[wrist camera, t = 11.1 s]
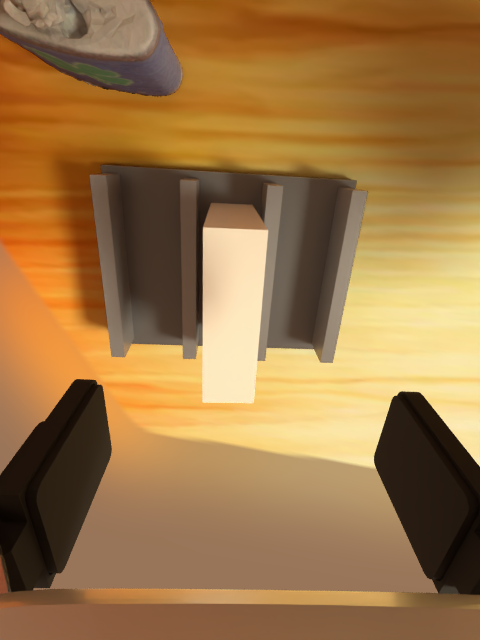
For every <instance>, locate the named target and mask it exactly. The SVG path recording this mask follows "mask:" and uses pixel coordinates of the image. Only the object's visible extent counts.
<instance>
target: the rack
mask: <svg viewBox="0 0 480 640" xmlns="http://www.w3.org/2000/svg"><path fill="white" fill-rule="evenodd" d="M89 177H90V185H91V193H92V201H93V209H94V217H95V225H96V234H97V242H98V250H99V258H100V266H101V274H102V282H103V291H104V299H105V307H106V315H107V323H108V331H109V339H110V348H111V356H112V357H125V356H126V354H127V352H128V350H129V348H130V346H131V344H160V345H183V359H196V354H197V347H198V346H203V226H204V223H205V220H206V217H207V214H208V211H209V208H210V205H211V203H227V204H248V205H253V207H254V208H255V210H256V211H257V213H258V215H259V216H260V218H261V219H262V221H263V223H264V224H265V226H266V227H267V229H268V240H267V252H266V264H265V275H264V287H263V299H262V311H261V323H260V335H259V346H258V358H257V361H265V357H266V348H293V349H314V350H315V352H316V354H317V356H318V358H319V360H320V362H321V363H333V358H334V354H335V349H336V344H337V339H338V334H339V329H340V325H341V320H342V315H343V310H344V305H345V300H346V296H347V291H348V286H349V281H350V276H351V271H352V266H353V262H354V257H355V252H356V247H357V242H358V237H359V233H360V228H361V223H362V218H363V213H364V208H365V203H366V199H367V194H368V191H364V190H359V189H355V188H356V182H357V181H355V180H344V179H327V178H311V177H295V176H279V175H263V174H247V173H230V172H214V171H198V170H182V169H166V168H150V167H133V166H117V165H101V174H91V175H89Z"/></svg>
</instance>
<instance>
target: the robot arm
mask: <svg viewBox="0 0 480 640" xmlns="http://www.w3.org/2000/svg"><path fill="white" fill-rule="evenodd" d="M111 450H112V448H111V440H110V433H109V427H108V421H107V413H106V407H105V400H104V392H103V387H102V385H97V382H96V380H84V379H76V380H75V381H74V382H73V383H72V384H71V386H70V387H69V389H68V390H67V391H66V393H65V394H64V395H63V397H62V398H61V400H60V401H59V402H58V404H57V405H56V406H55V408H54V409H53V411H52V412H51V413H50V415H49V416H48V418H47V419H46V420H45V421H43V422H41V423H39V424H38V425H37V426H36V427H35V429H34V430H33V432H32V433H31V434H30V435H29V437H28V438H27V440H26V441H25V442H24V444H23V445H22V446H21V448H20V449H19V450H18V452H17V453H16V454H15V456H14V457H13V458H12V460H11V461H10V463H9V464H8V465H7V467H6V468H5V469H4V471H3V472H2V473H1V475H0V640H480V467H479V465H478V464H477V463H476V462H475V460H474V459H473V458H472V457H471V455H470V454H469V453H468V452H467V450H466V449H465V448H464V447H463V445H462V444H461V443H460V442H459V440H458V439H457V438H456V436H455V435H454V434H453V433H452V431H451V430H450V429H449V428H448V426H447V425H446V424H445V423H444V421H443V420H442V419H441V418H440V416H439V415H438V414H437V413H436V411H435V410H434V409H433V408H432V406H431V405H430V404H429V403H428V401H427V400H426V399H425V398H424V396H423V395H422V394H421V393H419V392H399V393H398V395H397V396H394V397H393V399H392V401H391V405H390V408H389V411H388V414H387V417H386V420H385V423H384V427H383V430H382V433H381V436H380V439H379V442H378V445H377V449H376V452H375V455H374V463H375V467H376V469H377V471H378V473H379V476H380V478H381V480H382V482H383V484H384V486H385V489H386V491H387V493H388V495H389V497H390V500H391V502H392V504H393V506H394V508H395V510H396V513H397V515H398V517H399V519H400V521H401V524H402V526H403V528H404V530H405V532H406V534H407V537H408V539H409V541H410V543H411V545H412V548H413V550H414V552H415V554H416V556H417V558H418V560H419V563H420V565H421V567H422V569H423V571H424V573H425V575H426V576H427V578H429V579H432V580H433V582H434V584H435V587H436V589H437V591H438V593H405V592H358V591H357V592H356V591H353V592H352V591H300V590H299V591H298V590H295V591H294V590H228V589H226V590H225V589H224V590H223V589H48V590H33V588H50V586H51V584H52V582H53V579H54V577H55V575H56V573H61V572H62V571H63V570H64V568H65V566H66V564H67V561H68V559H69V556H70V554H71V551H72V549H73V546H74V544H75V542H76V539H77V537H78V534H79V532H80V530H81V527H82V525H83V522H84V520H85V518H86V515H87V513H88V510H89V508H90V506H91V503H92V501H93V498H94V496H95V493H96V491H97V489H98V486H99V484H100V481H101V479H102V477H103V474H104V472H105V469H106V467H107V464H108V462H109V460H110V456H111Z"/></svg>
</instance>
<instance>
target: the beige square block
mask: <svg viewBox="0 0 480 640" xmlns="http://www.w3.org/2000/svg"><path fill="white" fill-rule="evenodd" d="M267 240H268V229H267V227H266V226H265V224H264V223H263V221H262V219H261V218H260V216H259V215H258V213H257V211H256V210H255V208H254V207H253V205H248V204H227V203H211V205H210V208H209V211H208V214H207V217H206V220H205V223H204V226H203V402H210V403H254V394H255V382H256V370H257V358H258V346H259V335H260V323H261V311H262V299H263V287H264V275H265V264H266V252H267Z"/></svg>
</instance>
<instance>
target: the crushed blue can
mask: <svg viewBox="0 0 480 640" xmlns="http://www.w3.org/2000/svg"><path fill="white" fill-rule="evenodd" d="M0 34H1V35H3V36H4V37H6V38H8V39H9V40H11V41H13V42H15V43H17V44H18V45H20V46H21V47H23V48H25V49H27V50H28V51H30V52H32V53H33V54H35V55H36V56H38V57H39V58H41V59H42V60H43V61H45V62H46V63H47V64H49V65H51V66H53V67H55V68H56V69H57V70H59V71H60V72H62V73H65V74H67V75H69V76H72V77H74V78H76V79H77V80H80V81H84V82H86V83H87V84H91V85H94V86H98V87H102V88H103V89H107V90H108V89H111V90H118V91H123V92H129V93H132V94H135V93H137V94H141V95H145V96H149V95H152V96H157V97H158V96H167V95H171V94H172V93H175V92H176V90H178V88H179V87H180V85H181V81H182V77H183V73H182V67H181V64H180V62H179V60H178V58H177V57H176V55H175V53H174V52H173V49H172V47H171V45H170V44H169V41H168V39H167V37H166V35H165V33H164V30H163V25H162V22H161V21H160V19H159V17H158V15H157V13H156V11H155V9H154V7H153V6H152V4H151V2H150V1H149V0H0Z"/></svg>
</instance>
